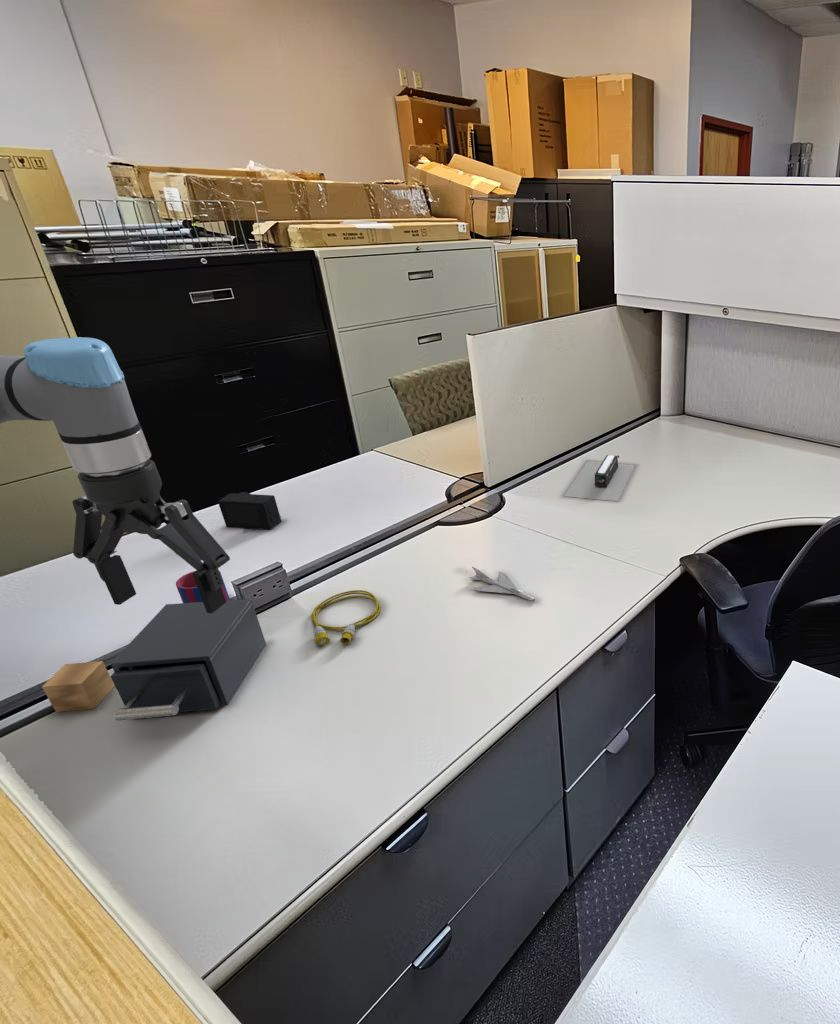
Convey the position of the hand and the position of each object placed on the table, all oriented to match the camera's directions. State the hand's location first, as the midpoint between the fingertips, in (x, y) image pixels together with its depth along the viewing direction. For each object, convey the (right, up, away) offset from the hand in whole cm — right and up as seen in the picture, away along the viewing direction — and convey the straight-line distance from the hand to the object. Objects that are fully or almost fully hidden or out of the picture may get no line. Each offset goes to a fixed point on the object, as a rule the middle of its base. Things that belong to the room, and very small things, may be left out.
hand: (171, 603), depth 87 cm
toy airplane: (+34, -2, +39) cm, 52 cm away
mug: (-15, -6, +27) cm, 32 cm away
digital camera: (-28, +10, +57) cm, 64 cm away
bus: (+50, +22, +88) cm, 103 cm away
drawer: (-4, -15, +8) cm, 17 cm away
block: (-19, -16, +7) cm, 26 cm away
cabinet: (-5, -14, +13) cm, 19 cm away
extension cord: (+9, -7, +27) cm, 30 cm away
